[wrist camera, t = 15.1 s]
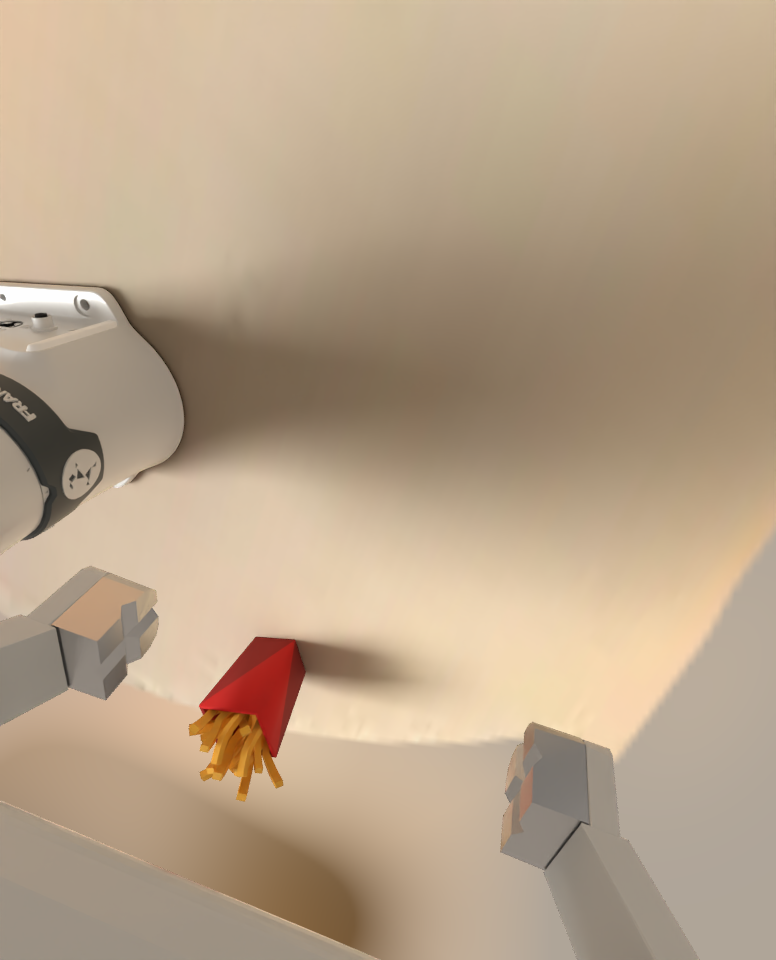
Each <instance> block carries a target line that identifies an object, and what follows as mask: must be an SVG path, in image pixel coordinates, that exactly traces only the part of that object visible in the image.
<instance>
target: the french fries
mask: <svg viewBox="0 0 776 960" xmlns="http://www.w3.org/2000/svg"><path fill="white" fill-rule="evenodd" d="M305 673H306V671H305V668H304V665H303V662H302V659H301V656H300V653H299V650H298V647H297V644H296V641H295V640H291V639H277V638H263V637H255V638H254V640H253V641H252V642H251V643H250V644H249V646H248V647H247V648H246V649H245V650H244V652H243V653H242V654H241V655H240V656H239V658H238V659H237V660H236V661H235V663H234V664H233V665H232V666H231V667H230V669H229V670H228V671H227V672H226V673H225V675H224V676H223V677H222V678H221V679H220V681H219V682H218V683H217V684H216V685H215V687H214V688H213V689H212V690H211V691H210V693H209V694H208V695H207V696H206V697H205V699H204V700H203V701H202V702H201V703H200V705H199V707H200V709H201V711H202V713H203V716H202V717H201V718H200V719H199V720H197V721H196V722H194V723H193V724H189V734H190V736H192V735H197V734H201V741H202V744H201V747H200V751H203V752H208V751H209V750H210V749H211V748H212V746H213V745H214V743H215V742H216V746H215V749H214V753H213V757H212V761H211V763H210V764H209V765H208V766H207V768H206V769H205V770H203V771H201V772H200V776H201V779H202V780H203V781H205V780H207V779H209V778H211V777H212V779H215V780H219V781H221V780H222V778H223V777H224V775H225V774H226V772H227V770H228V768H229V769H230V771H231V772H232V773H234V775H235V776H237V777H242V778H241V782H240V786H239V790H238V794H237V798H236V800H240V801H245V800H246V796H247V793H248V788H249V783H250V779H251V774H252V770H253V765H254V770H255V773H262V771H263V765H262V757H263V760H264V763H265V766H266V768H267V770H268V773H269V776H270V777H271V780H272V782H273V784H274V786H275V788H278V787H281V786H283V780H282V778H281V776H280V775H279V773H278V771H277V769H276V767H275V764H274V762H273V760H272V758H271V757H277V754H278V751H279V748H280V745H281V742H282V739H283V736H284V733H285V731H286V728H287V725H288V722H289V719H290V716H291V713H292V710H293V707H294V705H295V702H296V699H297V696H298V693H299V690H300V687H301V684H302V681H303V679H304V676H305ZM261 755H262V756H261Z"/></svg>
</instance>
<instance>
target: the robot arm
mask: <svg viewBox="0 0 776 960" xmlns="http://www.w3.org/2000/svg"><path fill="white" fill-rule="evenodd" d="M87 302H88V303H89V306H90V307H89V306H88V304H87ZM183 429H184V411H183V405H182V400H181V396H180V393H179V390H178V388H177V385H176V383H175V381H174V378H173V376H172V375H171V373H170V371H169V369H168V368H167V366H166V364H165V363H164V361H163V360H162V359H161V357H160V356H159V355H158V354H157V352H156V351H155V350H154V349H153V348H152V347H151V346H150V345H149V344H148V343H147V342H146V341H145V340H144V339H143V338H142V337H141V336H140V335H139V334H138V333H137V332H136V331H135V330H134V329H133V327H132V326H131V325H130V324H129V322H128V320H127V318H126V316H125V315H124V313H123V311H122V309H121V308H120V306H119V304H118V303H117V301H116V300H115V298H114V297H113V296H112V295H111V294H110V293H109V292H108V291H107V290H105V289H103V288H99V287H82V286H65V285H48V284H30V283H13V282H0V555H1V554H3V553H4V552H5V551H7V550H8V549H9V548H11V547H12V546H14V545H15V544H16V543H18V542H19V541H22V540H28V539H31V538H34V537H36V536H37V535H39V534H41V533H42V532H44V531H46V530H48V529H50V528H51V527H53V526H54V524H56V523H57V522H58V521H60V520H61V519H63V518H64V517H65V516H67V515H68V514H70V513H71V512H72V511H74V510H75V509H76V508H77V507H78V506H79V505H81V504H83V503H85V502H87V501H88V500H90V499H92V498H94V497H96V496H97V495H99V494H101V493H103V492H104V491H106V490H108V489H110V488H111V487H115V488H120V487H122V486H124V485H126V484H128V483H129V482H131V481H132V480H133V479H134V478H135V476H136V475H137V474H138V473H139V472H141V471H143V470H145V469H148V468H150V467H153V466H155V465H158V464H160V463H162V462H164V461H165V460H167V459H168V458H169V457H170V456H171V455H172V454H173V453H174V452H175V450H176V449H177V447H178V445H179V443H180V441H181V438H182V434H183ZM156 603H157V594H156V590H153V589H151V588H148V587H145V586H143V585H140V584H138V583H135V582H132V581H130V580H127V579H125V578H122V577H119V576H117V575H114V574H112V573H109V572H106V571H103V570H101V569H98V568H95V567H92V566H89V567H87V568H84V569H82V570H80V571H79V572H78V573H77V574H76V575H75V576H73V577H72V578H71V579H70V580H69V581H68V582H66V583H65V584H64V585H63V586H62V587H61V588H59V589H58V590H57V591H56V592H55V593H54V594H52V595H51V596H50V597H49V598H48V599H47V600H45V601H44V602H43V603H42V604H41V605H40V606H38V607H37V608H36V609H35V610H34V611H33V612H31V613H30V614H29V615H28V616H27V617H26V616H23V615H18V616H15V617H12V618H9V619H6V620H3V621H0V726H1V725H3V724H5V723H7V722H9V721H11V720H13V719H14V718H16V717H18V716H20V715H22V714H24V713H26V712H28V711H29V710H31V709H33V708H35V707H37V706H39V705H41V704H43V703H44V702H46V701H48V700H50V699H52V698H54V697H56V696H57V695H60V694H61V693H63V692H65V691H67V690H68V687H69V688H72V689H75V690H77V691H80V692H83V693H86V694H89V695H92V696H95V697H97V698H100V699H104V700H107V698H108V697H109V696H110V695H111V694H112V692H113V691H114V690H115V689H116V688H117V687H118V685H119V684H120V683H121V682H122V681H123V679H124V678H125V677H126V676H127V667H128V664H129V663H131V662H134V661H136V660H138V659H141V658H142V657H143V655H144V654H145V653H146V652H147V650H148V649H149V648H150V646H151V644H152V642H153V640H154V638H155V636H156V634H157V629H158V625H159V624H158V615H157V614H156V613H155V611H154V610H153V608H152V607H153V606H154V605H155V604H156ZM505 794H506V796H507V798H508V800H509V802H510V805H509V807H508V809H507V811H506V812H505V814H504V815H503V824H502V837H501V851H500V852H502V853H504V854H506V855H509V856H511V857H514V858H516V859H518V860H521V861H523V862H526V863H528V864H531V865H533V866H535V867H538V868H540V869H542V870H545V872H544V875H545V877H546V880H547V882H548V885H549V888H550V890H551V893H552V896H553V898H554V900H555V903H556V906H557V909H558V911H559V914H560V916H561V919H562V922H563V924H564V926H565V929H566V932H567V934H568V937H569V940H570V942H571V945H572V947H573V950H574V953H575V955H576V958H577V960H700V959H699V957H698V956H697V954H696V952H695V951H694V949H693V947H692V946H691V944H690V942H689V941H688V939H687V938H686V936H685V934H684V932H683V931H682V929H681V927H680V926H679V924H678V922H677V921H676V919H675V917H674V916H673V914H672V912H671V911H670V909H669V907H668V906H667V904H666V902H665V900H664V899H663V897H662V895H661V894H660V892H659V891H658V889H657V887H656V885H655V884H654V882H653V880H652V879H651V877H650V875H649V874H648V872H647V870H646V869H645V867H644V865H643V864H642V862H641V861H640V859H639V857H638V855H637V854H636V852H635V850H634V849H633V847H632V845H631V844H630V842H629V840H627V839H624V838H622V837H620V827H619V817H618V807H617V797H616V787H615V777H614V766H613V756H612V753H611V751H610V749H608V748H606V747H603V746H600V745H597V744H594V743H591V742H588V741H585V740H582V739H581V738H579V737H576V736H573V735H570V734H567V733H564V732H561V731H558V730H555V729H552V728H549V727H546V726H543V725H540V724H537V723H534V722H532V723H530V724H529V725H528V727H527V728H526V730H525V732H524V743H522V744H519V745H517V747H516V749H515V751H514V753H513V755H512V758H511V761H510V764H509V768H508V773H507V779H506V788H505ZM0 960H380V959H378V958H375V957H373V956H370V955H368V954H366V953H363V952H361V951H359V950H356V949H354V948H351V947H349V946H346V945H344V944H342V943H339V942H337V941H335V940H332V939H330V938H328V937H325V936H322V935H320V934H318V933H316V932H313V931H311V930H308V929H306V928H304V927H301V926H299V925H296V924H294V923H292V922H289V921H287V920H285V919H282V918H280V917H277V916H275V915H273V914H270V913H268V912H266V911H263V910H261V909H258V908H256V907H254V906H251V905H249V904H247V903H244V902H242V901H239V900H237V899H235V898H232V897H230V896H227V895H225V894H223V893H220V892H218V891H216V890H213V889H211V888H208V887H206V886H203V885H201V884H199V883H196V882H194V881H191V880H189V879H187V878H185V877H182V876H180V875H177V874H175V873H173V872H170V871H168V870H165V869H163V868H161V867H158V866H156V865H154V864H151V863H149V862H146V861H144V860H141V859H139V858H137V857H134V856H132V855H130V854H127V853H125V852H122V851H120V850H118V849H115V848H113V847H111V846H108V845H106V844H103V843H101V842H99V841H96V840H94V839H91V838H89V837H87V836H84V835H82V834H80V833H77V832H75V831H72V830H70V829H68V828H65V827H63V826H60V825H58V824H56V823H53V822H50V821H48V820H46V819H44V818H41V817H39V816H37V815H34V814H32V813H30V812H27V811H25V810H22V809H20V808H18V807H15V806H13V805H10V804H8V803H6V802H3V801H1V800H0Z"/></svg>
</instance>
